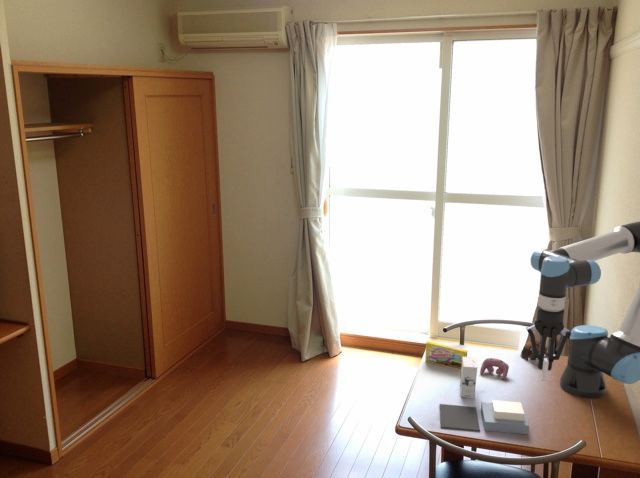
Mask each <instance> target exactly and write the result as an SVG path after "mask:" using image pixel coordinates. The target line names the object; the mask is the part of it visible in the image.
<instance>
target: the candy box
mask: <svg viewBox="0 0 640 478" xmlns="http://www.w3.org/2000/svg"><path fill="white" fill-rule="evenodd" d="M462 357H468V350H467V349H462V348H458V347H455V346H454V347H453V346H451V345H450V346H449V345H445V344H442V343H438V342H433V341H428V340H427V341H426V342H425V359H424V360H425V362H427V363H431V364H435V365H439V366H443V367H447V368H451V369H455V370H458V371H461V368H462Z"/></svg>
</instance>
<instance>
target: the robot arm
mask: <svg viewBox="0 0 640 478" xmlns="http://www.w3.org/2000/svg"><path fill="white" fill-rule="evenodd" d="M619 253H620V254H624V255H626V254H630V253H638V254H640V221H639V220H638V221H633V222H630V223H626V224H622V225H619V226H616V227H613V228H612V230H611V231H610V232H606V233H603V234H600V235H597V236H592V237H590V238H587V239H584V240H581V241H578V242H574V243H571V244H568V245H565V246H561V247H558V248H555V249H551V250H549V249H547V248H537V249H535V251H533V253H532V254H531V256H530V266H531V268H532V269H534V270H535V271H537V272H540V280H539V291H538V300H537V305H538V306H537V310H536V319H535V321H534V323H533V325H531V326H530V325H529V326H528V325H527V326H526V328H525V329H526V331H527V333H528V334H529V342H530V341H531V347H532V348H531V350H532V353H533V356H534V358H537V359H536V360H537V361H538V362H537V368H538V370H540V371H539V372H540V373H539V378H540V381H541V382H547V381H548V371H552V366H553V362H554V361H555V360H556V361H558V360H560V357H561V355H562V353H563V351H564V347H565V345H566V342H567V339H569V345H568V354H567V365H566V367H565V368H564V370H563V372H562V374H561V376H560V380H559V386H560V387H561V389H562V390H564V391H565V392H566V393H569V394H571V395H574V396H576V397H579V398H585V399H599V398H602V397H604V396H605V395H606V393H607V383H606V378H605V375H607V376H608V377H611V378H612V379H613V380H615V381H619V383H620V382H621V383H623V384H625V385H633V384H635V383H637V382H639V381H640V283H639V284H638V287H637V288H636V291H635V292H634V295H633V297H632V299H631V302H630V304H629V306H628V308H627V310H626V313H625V315H624V316H623V319H622V322H621V324H620V325H619V328H618V330H617V331H614V332H612V333H611V334H610V336H609V337H608V335H609V333H608V330H607V329H606V328H604V327H602V326H598V325H590V324H589V325H587V324H586V325H585V324H584V325H583V324H582V325H576V326H575V327H573V328H572V329H571V331H570V329H569V328H566V327H565V326H564V314H565V310H564V309H565V308H566V298H567V290H568V288H575V287H576V288H577V287H582V286H583V287H584V286H585V287H587V286H590V285H594V284H596V283H598V282H599V281H600V279H601V275H602V269H601V267H600V265H599V264H598V263H597V262H596V261H598V260H601V259H604V258H607V257H610V256H614V255H616V254H617V255H618V254H619ZM536 331H537V332H538V333H539V343H540V345H539V354H538V353H537V347H536V341H537V340H536V336H535V333H536ZM560 333H561V335H560V337H559V339H558V342H557V344H556V343H555V342H556V337H557V336H559V334H560ZM547 338H548V339H547ZM547 340H548V343H547ZM547 344H548V345H547ZM555 344H556V347H555ZM546 345H547V348H548V350H547V358H545V347H546ZM604 374H605V375H604Z"/></svg>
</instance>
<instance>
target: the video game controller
mask: <svg viewBox="0 0 640 478" xmlns="http://www.w3.org/2000/svg"><path fill="white" fill-rule="evenodd" d="M494 367H495V368H497V369H495V368H494ZM509 369H510V366H509V364H508V363H507V362H505V361H503V360H501V359H499V358H493V357H492V358H491V357H488V358H486V359H484V360H483V361H482V363H481V367H480V369H479V370H480V371H479V372H480V374H481V375H483V374H484V373H485V371H487V372H488V373H489V374H493V373H494V372H495V374H496V375H498V376H502V381H503V380H504V381H505V380H506V378H507V376H508V373H509Z"/></svg>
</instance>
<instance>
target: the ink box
mask: <svg viewBox="0 0 640 478" xmlns="http://www.w3.org/2000/svg"><path fill="white" fill-rule="evenodd" d="M477 361H478V360H477V358H476V357H473V356H471V357H470V356H467V357H462V368H461V370H460V381H459V390H460V397H462V398H469V399H474V398H475V394H476V384H477V376H478V375H477V374H478V362H477Z"/></svg>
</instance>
